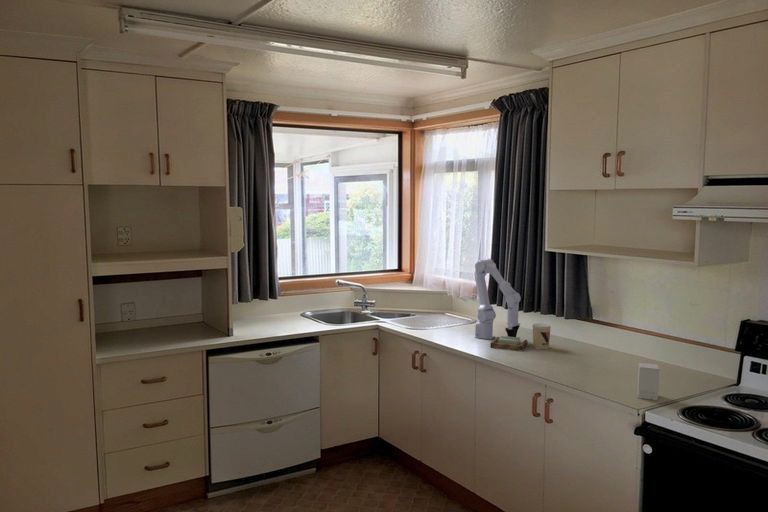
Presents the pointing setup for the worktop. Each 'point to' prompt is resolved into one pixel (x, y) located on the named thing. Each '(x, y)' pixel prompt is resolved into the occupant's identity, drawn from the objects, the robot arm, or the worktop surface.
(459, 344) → the worktop surface
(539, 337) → the coffee cup
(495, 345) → the wooden tray
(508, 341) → the green block
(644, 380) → the supplement box
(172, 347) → the worktop surface
